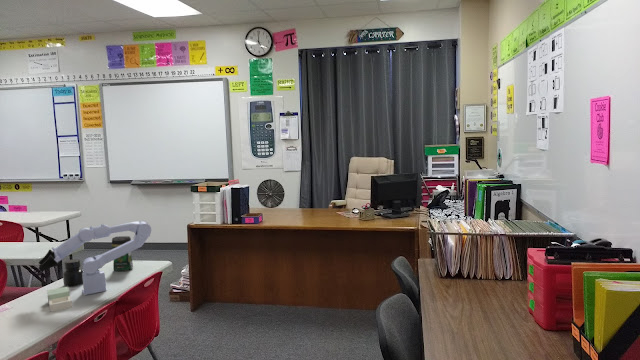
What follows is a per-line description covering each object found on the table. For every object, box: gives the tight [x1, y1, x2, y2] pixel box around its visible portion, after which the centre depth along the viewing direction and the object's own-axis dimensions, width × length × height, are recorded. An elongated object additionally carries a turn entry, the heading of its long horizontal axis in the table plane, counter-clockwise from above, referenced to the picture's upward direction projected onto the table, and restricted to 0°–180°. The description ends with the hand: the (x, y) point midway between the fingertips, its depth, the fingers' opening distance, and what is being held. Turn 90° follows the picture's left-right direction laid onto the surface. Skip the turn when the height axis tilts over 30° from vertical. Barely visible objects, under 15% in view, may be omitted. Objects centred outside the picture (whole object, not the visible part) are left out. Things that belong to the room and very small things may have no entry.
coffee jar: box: [111, 235, 134, 272], centre depth 244 cm, size 10×8×19 cm
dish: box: [48, 296, 73, 313], centre depth 191 cm, size 8×8×3 cm
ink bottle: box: [62, 258, 84, 288], centre depth 221 cm, size 10×9×12 cm
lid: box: [46, 286, 71, 300], centre depth 197 cm, size 8×8×2 cm
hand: (40, 267), depth 199 cm, fingers open, 7 cm apart
